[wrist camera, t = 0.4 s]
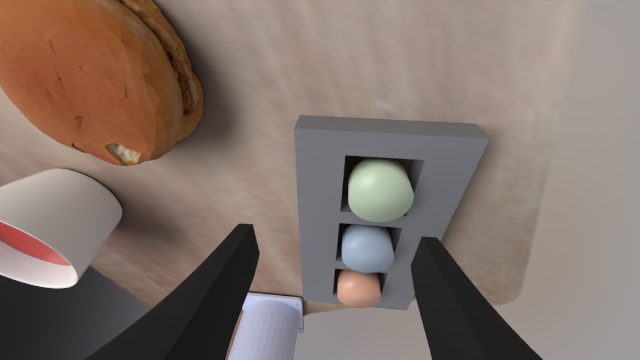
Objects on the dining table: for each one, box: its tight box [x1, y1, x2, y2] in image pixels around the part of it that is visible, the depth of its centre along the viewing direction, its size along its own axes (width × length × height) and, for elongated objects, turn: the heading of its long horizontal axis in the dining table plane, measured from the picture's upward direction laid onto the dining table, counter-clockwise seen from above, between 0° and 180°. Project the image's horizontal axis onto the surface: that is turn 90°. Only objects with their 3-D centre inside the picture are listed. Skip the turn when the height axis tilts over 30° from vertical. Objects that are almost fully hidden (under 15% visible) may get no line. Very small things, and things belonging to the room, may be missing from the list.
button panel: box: [294, 116, 490, 310], centre depth 20 cm, size 20×11×2 cm, turn 179°
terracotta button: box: [337, 269, 381, 308], centre depth 23 cm, size 4×4×2 cm
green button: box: [348, 157, 414, 222], centre depth 16 cm, size 4×4×2 cm
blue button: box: [342, 224, 394, 273], centre depth 19 cm, size 4×4×2 cm
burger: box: [0, 0, 204, 166], centre depth 13 cm, size 10×9×5 cm
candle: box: [0, 168, 122, 288], centre depth 20 cm, size 9×9×6 cm
